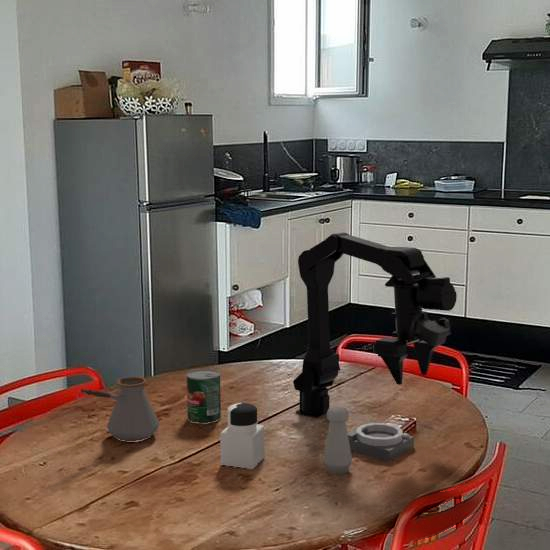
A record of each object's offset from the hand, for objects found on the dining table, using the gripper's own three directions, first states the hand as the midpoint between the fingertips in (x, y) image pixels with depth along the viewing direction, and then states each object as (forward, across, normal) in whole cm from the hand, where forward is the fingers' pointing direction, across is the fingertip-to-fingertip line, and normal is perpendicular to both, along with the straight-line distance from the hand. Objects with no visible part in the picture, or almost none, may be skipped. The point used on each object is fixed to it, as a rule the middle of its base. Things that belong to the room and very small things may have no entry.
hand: (412, 379), depth 183 cm
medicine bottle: (+13, -32, +20) cm, 40 cm away
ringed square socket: (+14, -8, +4) cm, 16 cm away
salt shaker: (+14, -23, +3) cm, 27 cm away
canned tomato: (+11, -21, +45) cm, 51 cm away
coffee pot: (+10, -44, +47) cm, 65 cm away
